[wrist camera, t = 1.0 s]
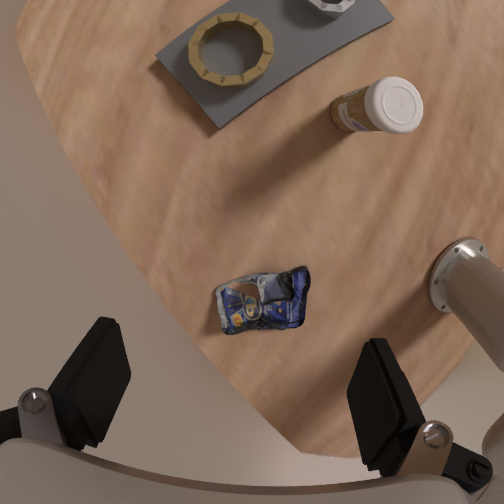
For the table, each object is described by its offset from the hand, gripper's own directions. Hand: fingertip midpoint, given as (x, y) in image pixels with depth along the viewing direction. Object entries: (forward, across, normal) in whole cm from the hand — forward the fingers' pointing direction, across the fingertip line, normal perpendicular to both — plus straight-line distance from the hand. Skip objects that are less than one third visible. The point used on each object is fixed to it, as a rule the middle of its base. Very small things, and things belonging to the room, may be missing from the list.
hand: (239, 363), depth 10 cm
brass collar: (+24, +4, -17) cm, 30 cm away
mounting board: (+26, -1, -21) cm, 34 cm away
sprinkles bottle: (+26, -10, -12) cm, 30 cm away
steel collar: (+24, -6, -26) cm, 36 cm away
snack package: (+27, -2, +12) cm, 29 cm away
